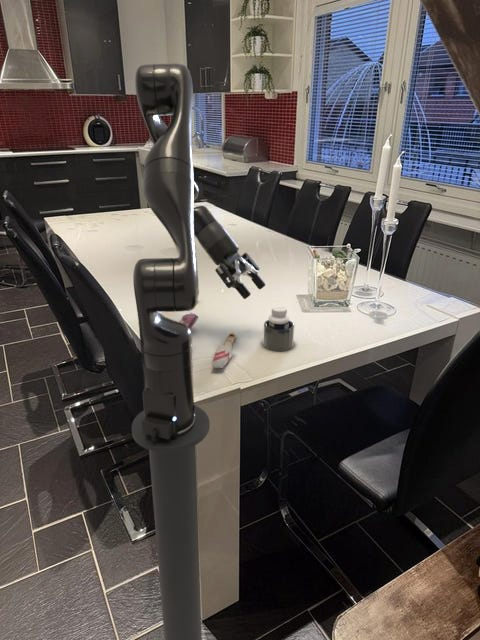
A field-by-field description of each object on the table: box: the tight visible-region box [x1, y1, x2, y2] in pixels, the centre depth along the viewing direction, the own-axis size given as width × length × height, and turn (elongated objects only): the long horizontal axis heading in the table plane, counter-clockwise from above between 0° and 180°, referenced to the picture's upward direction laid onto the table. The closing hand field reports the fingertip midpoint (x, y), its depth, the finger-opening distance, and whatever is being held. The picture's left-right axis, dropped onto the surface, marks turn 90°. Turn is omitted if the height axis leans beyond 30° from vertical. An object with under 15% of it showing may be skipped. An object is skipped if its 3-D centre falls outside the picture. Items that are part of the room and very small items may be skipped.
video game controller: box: [178, 312, 199, 331], centre depth 131 cm, size 10×5×7 cm, turn 159°
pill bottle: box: [268, 305, 290, 330], centre depth 124 cm, size 5×5×10 cm
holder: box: [262, 319, 295, 352], centre depth 125 cm, size 8×8×6 cm
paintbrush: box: [211, 332, 236, 369], centre depth 120 cm, size 4×3×20 cm
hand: (255, 292), depth 121 cm, fingers open, 8 cm apart
